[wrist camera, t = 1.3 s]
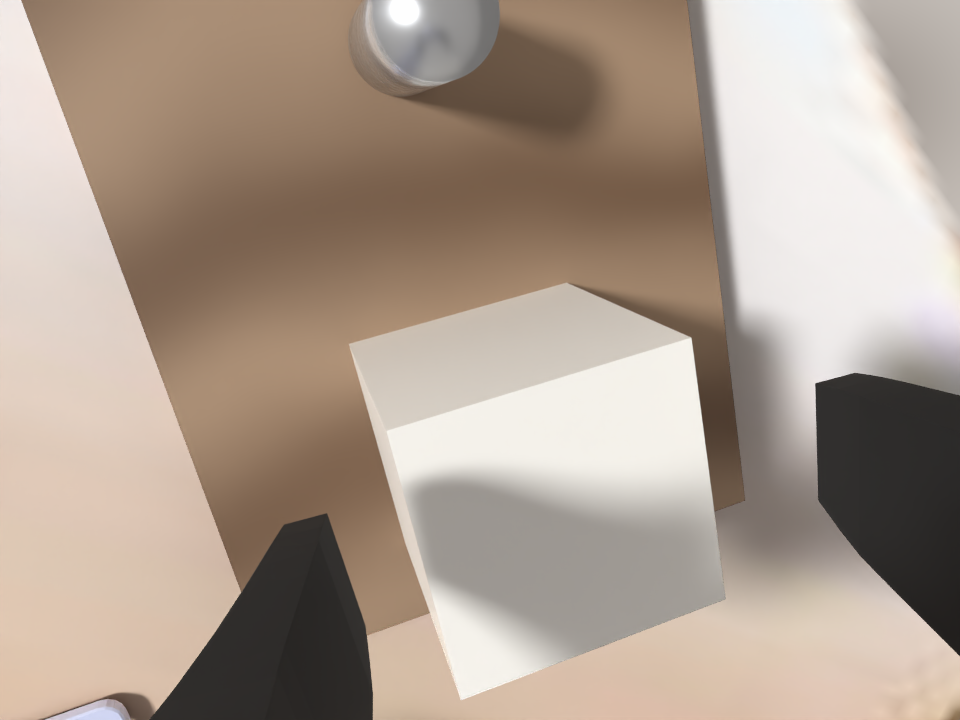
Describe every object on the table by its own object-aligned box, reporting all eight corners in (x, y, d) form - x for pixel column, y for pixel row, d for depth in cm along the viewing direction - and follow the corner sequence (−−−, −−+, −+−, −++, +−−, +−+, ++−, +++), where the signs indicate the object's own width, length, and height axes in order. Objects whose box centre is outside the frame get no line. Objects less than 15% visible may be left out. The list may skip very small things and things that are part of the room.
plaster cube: (602, 478, 21) (725, 598, 15) (405, 544, 20) (461, 700, 14) (566, 282, 19) (691, 337, 14) (348, 343, 18) (386, 431, 12)
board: (717, 480, 24) (745, 500, 22) (270, 635, 21) (270, 669, 20) (618, -286, 17) (649, -324, 16) (-36, -202, 15) (-68, -238, 13)
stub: (455, 86, 17) (511, 67, 13) (362, 107, 17) (390, 93, 13) (433, -19, 17) (485, -71, 13) (335, 0, 16) (356, -48, 12)
